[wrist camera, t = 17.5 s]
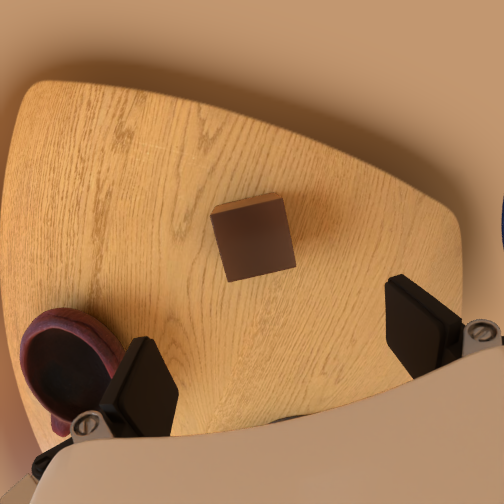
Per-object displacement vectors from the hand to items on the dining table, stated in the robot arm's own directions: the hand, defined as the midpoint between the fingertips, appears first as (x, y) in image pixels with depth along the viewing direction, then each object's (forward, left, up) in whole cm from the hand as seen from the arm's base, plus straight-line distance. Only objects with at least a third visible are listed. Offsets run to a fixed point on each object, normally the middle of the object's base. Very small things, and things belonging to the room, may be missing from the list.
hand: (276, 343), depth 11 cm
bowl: (+21, +9, -15) cm, 27 cm away
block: (0, -1, -15) cm, 15 cm away
